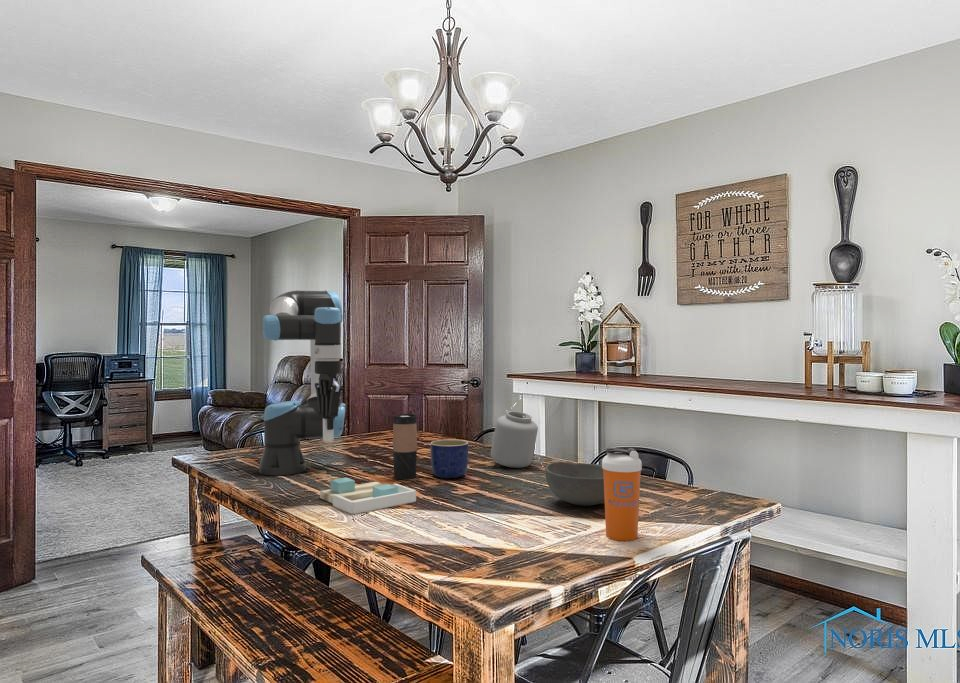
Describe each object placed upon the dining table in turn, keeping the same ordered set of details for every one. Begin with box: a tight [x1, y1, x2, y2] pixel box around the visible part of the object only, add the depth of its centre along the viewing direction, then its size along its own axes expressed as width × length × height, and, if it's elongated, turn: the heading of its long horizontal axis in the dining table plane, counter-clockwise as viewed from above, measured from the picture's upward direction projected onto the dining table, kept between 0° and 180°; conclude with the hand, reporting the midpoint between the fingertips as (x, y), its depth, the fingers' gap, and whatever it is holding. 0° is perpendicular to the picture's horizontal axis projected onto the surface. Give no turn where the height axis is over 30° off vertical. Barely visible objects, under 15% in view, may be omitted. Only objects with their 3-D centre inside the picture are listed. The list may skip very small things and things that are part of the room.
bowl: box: [544, 461, 605, 507], centre depth 174 cm, size 20×20×10 cm
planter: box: [429, 439, 469, 479], centre depth 209 cm, size 12×12×11 cm
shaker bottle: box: [601, 447, 643, 542], centre depth 146 cm, size 9×9×20 cm
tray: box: [332, 483, 417, 515], centre depth 175 cm, size 11×20×3 cm, turn 130°
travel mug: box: [392, 413, 418, 480], centre depth 207 cm, size 8×8×20 cm
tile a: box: [373, 483, 398, 498], centre depth 179 cm, size 5×5×3 cm
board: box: [319, 481, 386, 504], centre depth 183 cm, size 10×18×2 cm, turn 130°
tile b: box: [330, 477, 356, 494], centre depth 181 cm, size 5×5×3 cm
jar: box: [490, 395, 544, 469], centre depth 224 cm, size 19×15×25 cm
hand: (328, 440), depth 188 cm, fingers closed
